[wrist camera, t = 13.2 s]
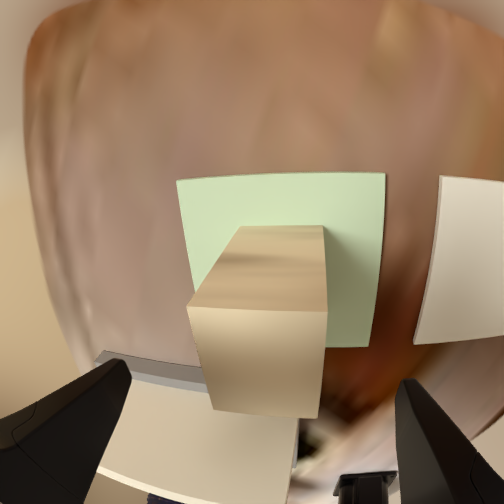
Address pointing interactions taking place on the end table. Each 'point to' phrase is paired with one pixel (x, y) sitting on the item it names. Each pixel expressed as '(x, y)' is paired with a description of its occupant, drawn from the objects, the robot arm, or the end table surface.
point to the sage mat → (298, 213)
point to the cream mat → (465, 264)
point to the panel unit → (195, 441)
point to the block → (264, 322)
